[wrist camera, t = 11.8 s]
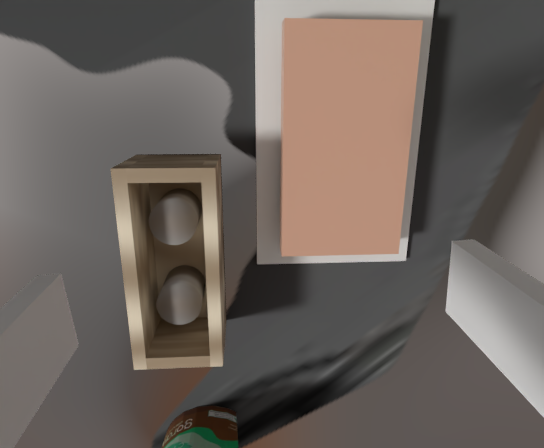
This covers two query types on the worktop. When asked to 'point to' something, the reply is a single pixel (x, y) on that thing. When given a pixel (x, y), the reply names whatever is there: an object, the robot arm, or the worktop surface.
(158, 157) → the birch box
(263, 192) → the grey mat
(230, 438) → the food container
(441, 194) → the worktop surface
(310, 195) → the peach flat tile
